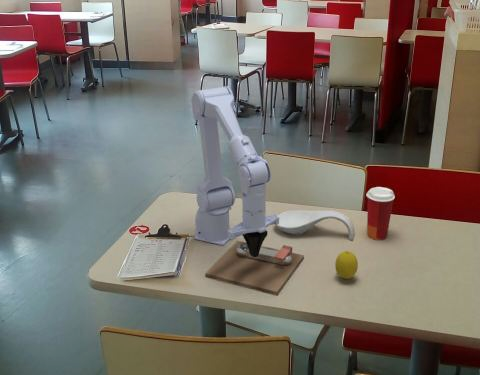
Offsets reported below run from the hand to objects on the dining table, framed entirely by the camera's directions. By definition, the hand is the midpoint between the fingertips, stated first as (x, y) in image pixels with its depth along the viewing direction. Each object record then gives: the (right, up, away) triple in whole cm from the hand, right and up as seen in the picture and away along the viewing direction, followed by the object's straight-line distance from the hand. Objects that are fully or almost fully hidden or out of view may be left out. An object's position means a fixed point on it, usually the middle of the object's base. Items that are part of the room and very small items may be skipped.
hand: (254, 255), depth 140 cm
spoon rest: (+18, +4, +22) cm, 29 cm away
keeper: (+8, -2, +4) cm, 9 cm away
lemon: (+23, -6, -2) cm, 24 cm away
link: (+3, -1, +6) cm, 7 cm away
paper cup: (+36, +3, +19) cm, 41 cm away
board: (+1, -4, +4) cm, 5 cm away
